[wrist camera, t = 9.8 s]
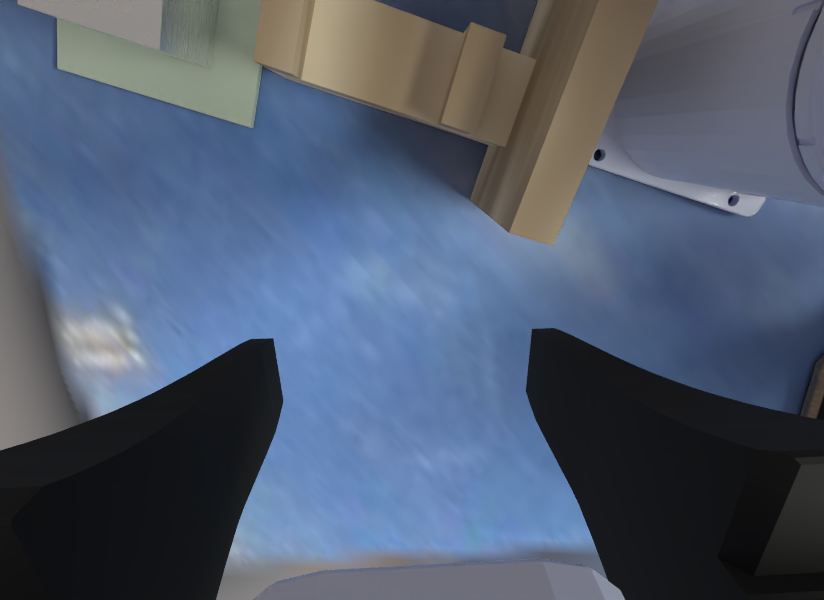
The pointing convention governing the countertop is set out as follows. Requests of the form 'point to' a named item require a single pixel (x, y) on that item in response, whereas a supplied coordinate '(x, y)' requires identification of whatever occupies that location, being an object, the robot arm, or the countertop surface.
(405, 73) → the rail stand
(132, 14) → the rail
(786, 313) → the countertop surface
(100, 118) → the countertop surface
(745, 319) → the countertop surface
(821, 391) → the lantern
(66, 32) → the mat
